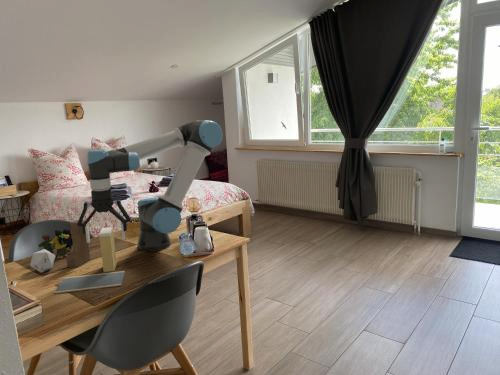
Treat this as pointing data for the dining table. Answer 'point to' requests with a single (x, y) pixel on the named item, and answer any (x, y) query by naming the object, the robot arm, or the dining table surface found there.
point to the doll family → (58, 242)
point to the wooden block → (78, 246)
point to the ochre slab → (108, 249)
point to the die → (42, 260)
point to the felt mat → (90, 282)
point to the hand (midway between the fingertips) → (106, 240)
